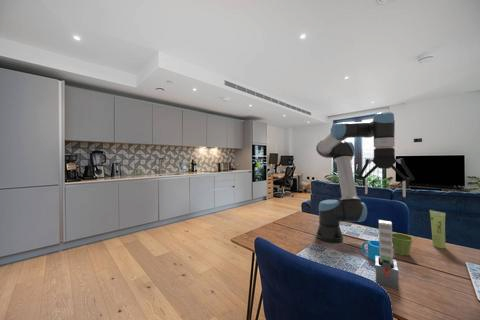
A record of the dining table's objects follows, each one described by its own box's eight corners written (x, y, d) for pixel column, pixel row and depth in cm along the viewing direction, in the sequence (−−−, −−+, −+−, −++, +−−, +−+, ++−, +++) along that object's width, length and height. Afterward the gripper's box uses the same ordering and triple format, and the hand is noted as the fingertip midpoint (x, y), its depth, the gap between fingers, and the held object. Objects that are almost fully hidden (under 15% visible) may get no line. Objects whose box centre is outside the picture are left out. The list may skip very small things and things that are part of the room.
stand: (358, 283, 76) (358, 258, 76) (360, 269, 86) (360, 247, 86) (420, 301, 66) (419, 273, 66) (414, 283, 76) (413, 258, 76)
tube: (431, 246, 106) (430, 211, 106) (430, 243, 110) (429, 209, 110) (446, 249, 103) (445, 213, 103) (444, 246, 106) (443, 211, 107)
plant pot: (408, 259, 93) (407, 241, 93) (386, 251, 102) (385, 235, 102) (417, 254, 98) (416, 237, 98) (395, 247, 106) (395, 231, 106)
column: (379, 264, 75) (379, 223, 75) (379, 258, 79) (378, 219, 79) (393, 267, 72) (392, 224, 73) (391, 260, 77) (390, 221, 77)
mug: (392, 263, 91) (392, 245, 91) (381, 267, 87) (381, 249, 87) (367, 252, 102) (367, 236, 102) (356, 255, 98) (356, 239, 99)
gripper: (351, 148, 91) (351, 193, 91) (423, 146, 76) (423, 199, 76) (352, 149, 97) (353, 191, 97) (420, 146, 82) (420, 196, 82)
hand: (384, 195), depth 87 cm, fingers open, 13 cm apart
